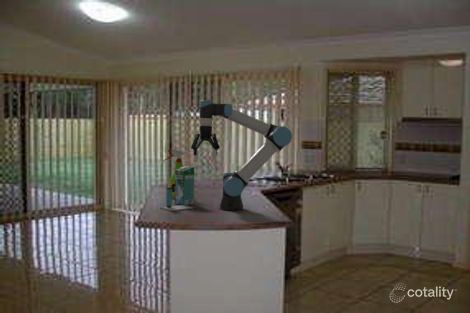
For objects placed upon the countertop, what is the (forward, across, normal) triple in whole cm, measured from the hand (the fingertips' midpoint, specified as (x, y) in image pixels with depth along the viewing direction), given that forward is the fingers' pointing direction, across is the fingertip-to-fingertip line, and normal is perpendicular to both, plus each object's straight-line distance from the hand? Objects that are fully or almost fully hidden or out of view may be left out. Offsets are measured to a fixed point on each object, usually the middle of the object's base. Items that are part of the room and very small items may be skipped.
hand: (205, 160), depth 309 cm
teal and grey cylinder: (+31, +11, -22) cm, 40 cm away
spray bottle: (+32, -18, -58) cm, 69 cm away
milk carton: (+32, -7, -31) cm, 45 cm away
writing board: (+32, +7, -18) cm, 37 cm away
